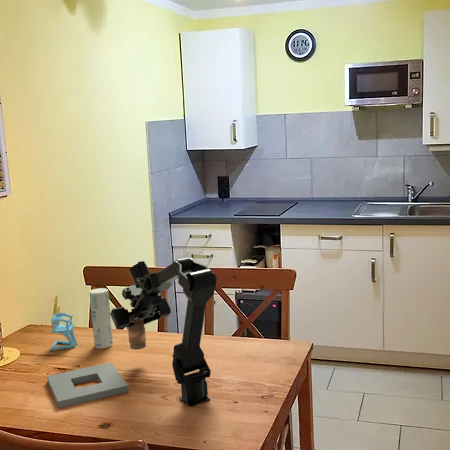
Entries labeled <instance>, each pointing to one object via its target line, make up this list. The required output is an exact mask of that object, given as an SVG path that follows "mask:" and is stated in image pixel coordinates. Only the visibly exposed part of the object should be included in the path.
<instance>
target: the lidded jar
mask: <svg viewBox="0 0 450 450" xmlns="http://www.w3.org/2000/svg"><path fill="white" fill-rule="evenodd" d="M133 323H134V326H132V327H131V328H129V329H127V334H128V335H127V336H128V343H129V349H131V350H143V349H144V348H146V347H147V343H146V341H147V337H146V327H145V325H144V319H140V320H139V319H138V318H137V319H134V321H133Z"/></svg>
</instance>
